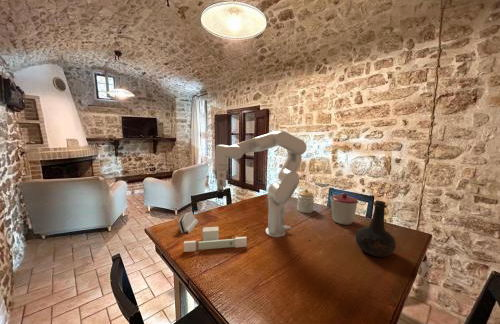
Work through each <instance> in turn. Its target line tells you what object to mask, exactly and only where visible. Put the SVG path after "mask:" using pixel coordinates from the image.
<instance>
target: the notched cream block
mask: <svg viewBox="0 0 500 324" xmlns="http://www.w3.org/2000/svg"><path fill="white" fill-rule="evenodd" d="M234 239H235V247H234V248H235V249H236V248H244V247H245V248H247V246H248V245H247V240H248V239H247V236H235V238H234ZM196 241H197V240H187V241H185V240H184V241H183V252H184V253H188V252H196V251H197V250H196Z"/></svg>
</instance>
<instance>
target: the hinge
mask: <svg viewBox="0 0 500 324" xmlns="http://www.w3.org/2000/svg"><path fill="white" fill-rule="evenodd" d="M198 223H199V219H197V218H196V216H195V214H194V213H193V211H189V212H186V213H184V214H182V216H181V217H180V218H179V219H178V222H177V224H178V227H179V230H180V232H181V234H183V233H186V232H187V233H188V234H190V233H191V231H192V230H193V229H194V228H195V226H196V225H197V224H198Z"/></svg>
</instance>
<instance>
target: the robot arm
mask: <svg viewBox="0 0 500 324" xmlns="http://www.w3.org/2000/svg"><path fill="white" fill-rule="evenodd" d="M278 146H279V147H281V148H283V149H285V150H286V151H287V159H286V161H285V163H284V164H283V166H282V167H281V169H280V170H279V173H278V176H277V177H278V180H279V181H280V183H279V182H273V183H272V184H270V185H269V187H268V189H267V196H268V213H267V214H268V217H267V218H268V221H267V227H266V228H265V233H266V235H267V236H270V237H272V238H282V237H284V236H285V235H286V231H290V230H292V228H291V226H288V225H287V224H286V225H284V223H285V222H284V221H285V220H284V217H285V204H286V203H288V202H289V201H290V199H291V198H292V197H293V195H294V192H295V191H296V189H297V188H298V186H299V183H300V176H299V173H298V170H299V168H300V166H301V163H302V155H304V153H305V152H306V151H307V143H306V142H305V141H304V140H303V139H301V138H298V137H297V136H295V135H293V134H290V133H289V132H287V131H284V130H275V131H272V132H269V133H266V134H262V135H259V136H256V137H253V138H250V139H247V140H244V141H240V142H237V143H234V144H232V145H226V144H217V145H216V146H215V152H214V153H215V154H214V170H216V187H217V191H216V193H217V199H218V200H219V199H220V200H223V199H224V193H225V192H224V188H226V187H227V171H229V159H233V160H238V159H241V158H242V157H243V155H244V154H248V153H253V152H254V153H258V152H263V151H266V150H269V149H272V148H275V147H278Z"/></svg>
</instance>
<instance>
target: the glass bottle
mask: <svg viewBox="0 0 500 324" xmlns="http://www.w3.org/2000/svg"><path fill="white" fill-rule="evenodd" d="M386 203H387V202H385V201H383V200H375V202H374V203H373V206H374V209H373V210H374V211H373V213H372V219H371V221H370V223H369V225H368V226H363V227H361V228H359V229H358V230H357V231H356V233H355V241H356V244H357V245H358V247H359V248H360V249H361V250H362V251H363V252H365V253H367V254H369V255H371V256H374V257H378V258H385V257H388V256H389V255H391V254H393V253H394V251H395V250H396V247H397V242H396V240H395V238H394V236H393V235H392V234H391V233H390V232H388V231H387V230H386V229H385V209H386V208H387V207H388V206H387V205H386Z"/></svg>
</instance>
